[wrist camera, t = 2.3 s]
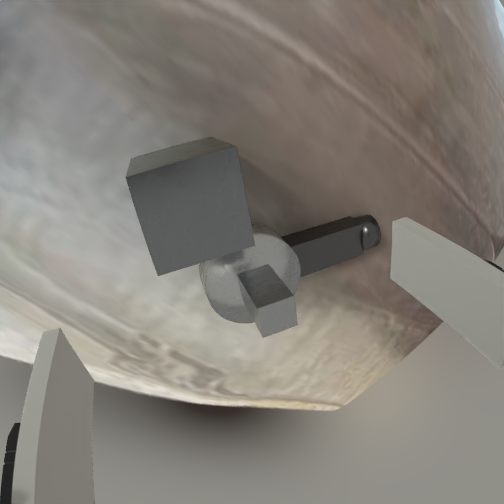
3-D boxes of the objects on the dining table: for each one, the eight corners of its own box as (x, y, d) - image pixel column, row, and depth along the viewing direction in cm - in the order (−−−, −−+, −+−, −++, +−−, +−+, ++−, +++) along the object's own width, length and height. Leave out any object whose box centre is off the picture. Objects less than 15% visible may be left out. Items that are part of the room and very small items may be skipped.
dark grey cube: (153, 233, 28) (158, 276, 21) (131, 158, 25) (125, 177, 18) (227, 211, 30) (255, 245, 23) (211, 136, 26) (236, 146, 19)
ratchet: (210, 311, 34) (235, 374, 26) (188, 236, 30) (208, 288, 22) (362, 258, 38) (413, 298, 30) (360, 187, 34) (421, 216, 26)
